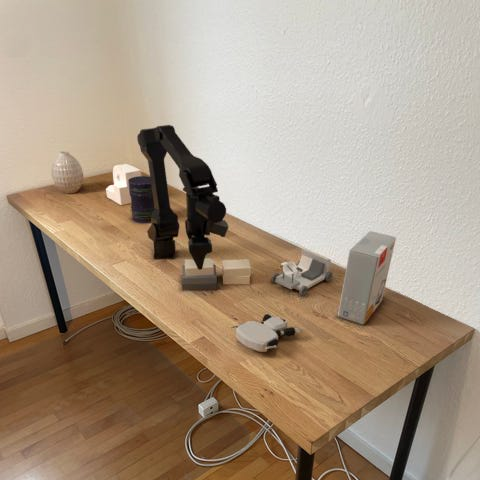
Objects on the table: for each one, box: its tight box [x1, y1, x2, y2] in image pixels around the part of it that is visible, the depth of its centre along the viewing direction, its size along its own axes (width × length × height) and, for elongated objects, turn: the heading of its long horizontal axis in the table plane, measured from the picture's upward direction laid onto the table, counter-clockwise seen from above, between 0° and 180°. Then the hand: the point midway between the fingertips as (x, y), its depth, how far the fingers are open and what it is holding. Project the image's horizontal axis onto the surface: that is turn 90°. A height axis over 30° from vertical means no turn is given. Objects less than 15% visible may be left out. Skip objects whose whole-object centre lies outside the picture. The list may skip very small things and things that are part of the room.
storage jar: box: [128, 175, 155, 224], centre depth 181 cm, size 10×10×15 cm
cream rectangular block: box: [184, 257, 214, 277], centre depth 141 cm, size 8×6×3 cm
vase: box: [50, 150, 84, 194], centre depth 206 cm, size 13×13×17 cm
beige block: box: [221, 258, 252, 285], centre depth 145 cm, size 8×6×5 cm
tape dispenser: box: [105, 163, 142, 206], centre depth 201 cm, size 16×10×13 cm, turn 41°
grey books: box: [181, 264, 218, 291], centre depth 143 cm, size 10×9×4 cm
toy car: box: [270, 248, 333, 297], centre depth 142 cm, size 18×10×12 cm
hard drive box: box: [337, 230, 397, 326], centre depth 128 cm, size 16×8×20 cm, turn 148°
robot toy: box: [228, 313, 301, 353], centre depth 119 cm, size 12×4×15 cm
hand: (198, 262), depth 140 cm, fingers open, 9 cm apart
